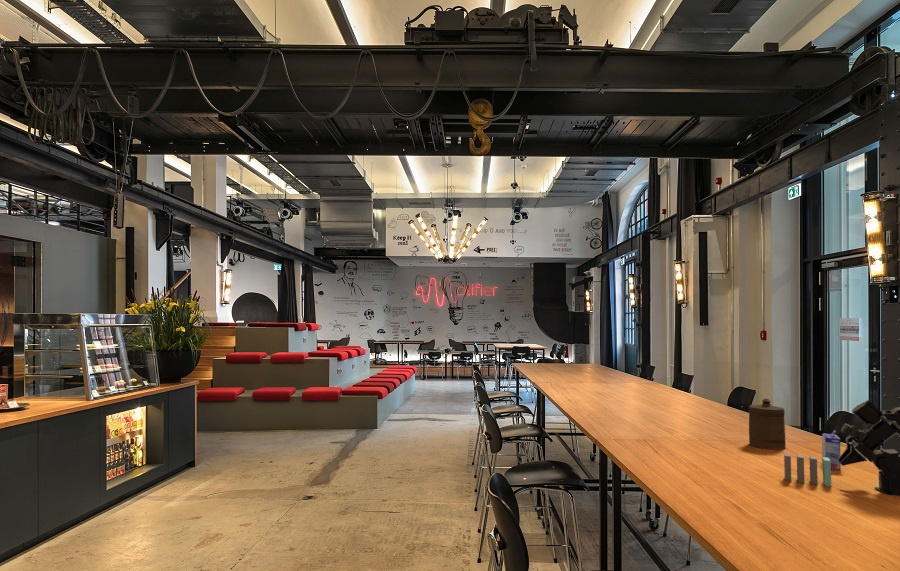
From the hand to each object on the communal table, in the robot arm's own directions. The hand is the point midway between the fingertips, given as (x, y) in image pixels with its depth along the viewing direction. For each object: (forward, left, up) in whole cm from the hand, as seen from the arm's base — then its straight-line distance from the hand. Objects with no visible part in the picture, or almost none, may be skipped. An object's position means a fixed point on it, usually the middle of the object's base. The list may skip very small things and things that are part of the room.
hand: (840, 462), depth 195 cm
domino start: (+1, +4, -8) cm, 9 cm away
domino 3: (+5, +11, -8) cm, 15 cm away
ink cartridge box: (+29, -13, -8) cm, 33 cm away
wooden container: (+64, -4, -8) cm, 64 cm away
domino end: (+6, +15, -8) cm, 18 cm away
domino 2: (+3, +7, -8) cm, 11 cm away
